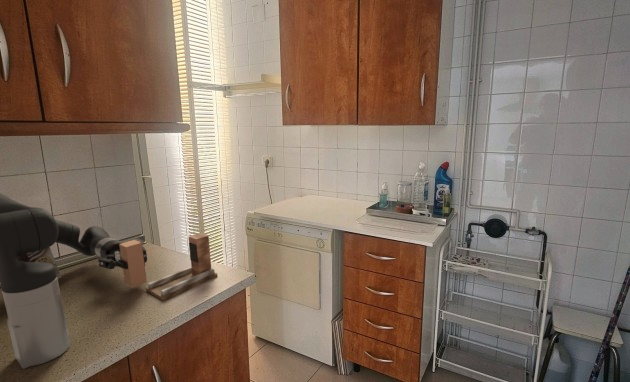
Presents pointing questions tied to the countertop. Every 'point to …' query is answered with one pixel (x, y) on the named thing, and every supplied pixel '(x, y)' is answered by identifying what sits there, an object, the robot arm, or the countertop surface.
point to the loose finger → (133, 263)
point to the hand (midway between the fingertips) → (136, 262)
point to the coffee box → (40, 258)
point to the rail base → (187, 271)
